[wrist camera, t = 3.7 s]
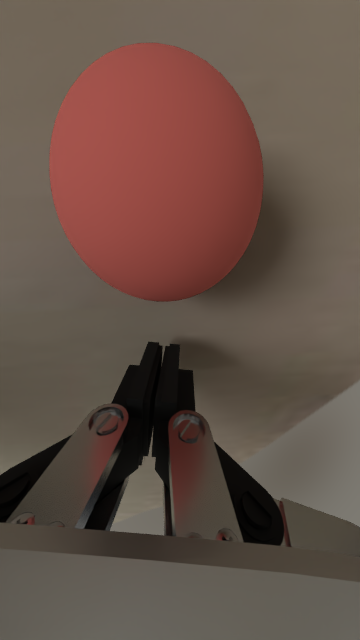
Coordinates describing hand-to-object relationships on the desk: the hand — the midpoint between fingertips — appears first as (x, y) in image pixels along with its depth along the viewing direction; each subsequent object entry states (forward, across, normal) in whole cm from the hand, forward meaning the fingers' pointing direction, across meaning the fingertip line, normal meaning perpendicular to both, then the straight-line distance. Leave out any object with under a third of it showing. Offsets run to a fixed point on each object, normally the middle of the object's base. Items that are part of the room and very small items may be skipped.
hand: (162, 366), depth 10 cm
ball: (-2, 0, -7) cm, 7 cm away
